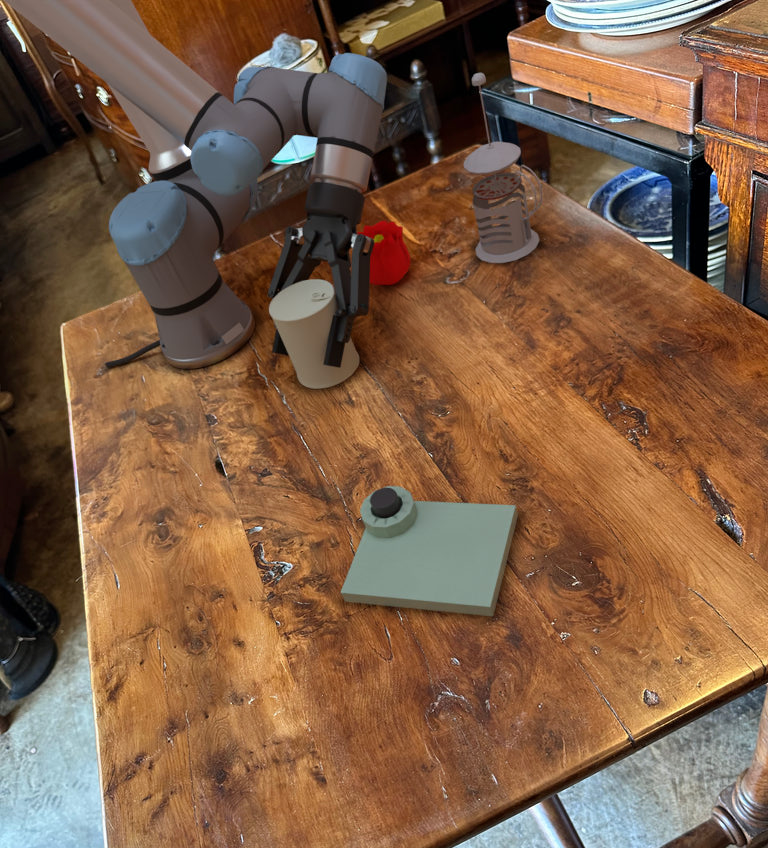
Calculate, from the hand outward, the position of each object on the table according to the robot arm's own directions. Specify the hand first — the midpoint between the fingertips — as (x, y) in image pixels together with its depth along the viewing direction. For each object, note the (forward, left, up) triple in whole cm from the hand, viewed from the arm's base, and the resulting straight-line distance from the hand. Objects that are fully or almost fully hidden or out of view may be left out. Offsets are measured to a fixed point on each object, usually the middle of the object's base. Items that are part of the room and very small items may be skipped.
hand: (305, 359), depth 107 cm
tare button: (+20, -25, -1) cm, 32 cm away
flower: (+4, +24, -4) cm, 25 cm away
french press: (+22, +31, -4) cm, 38 cm away
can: (+1, +3, -4) cm, 5 cm away
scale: (+25, -29, -4) cm, 38 cm away
